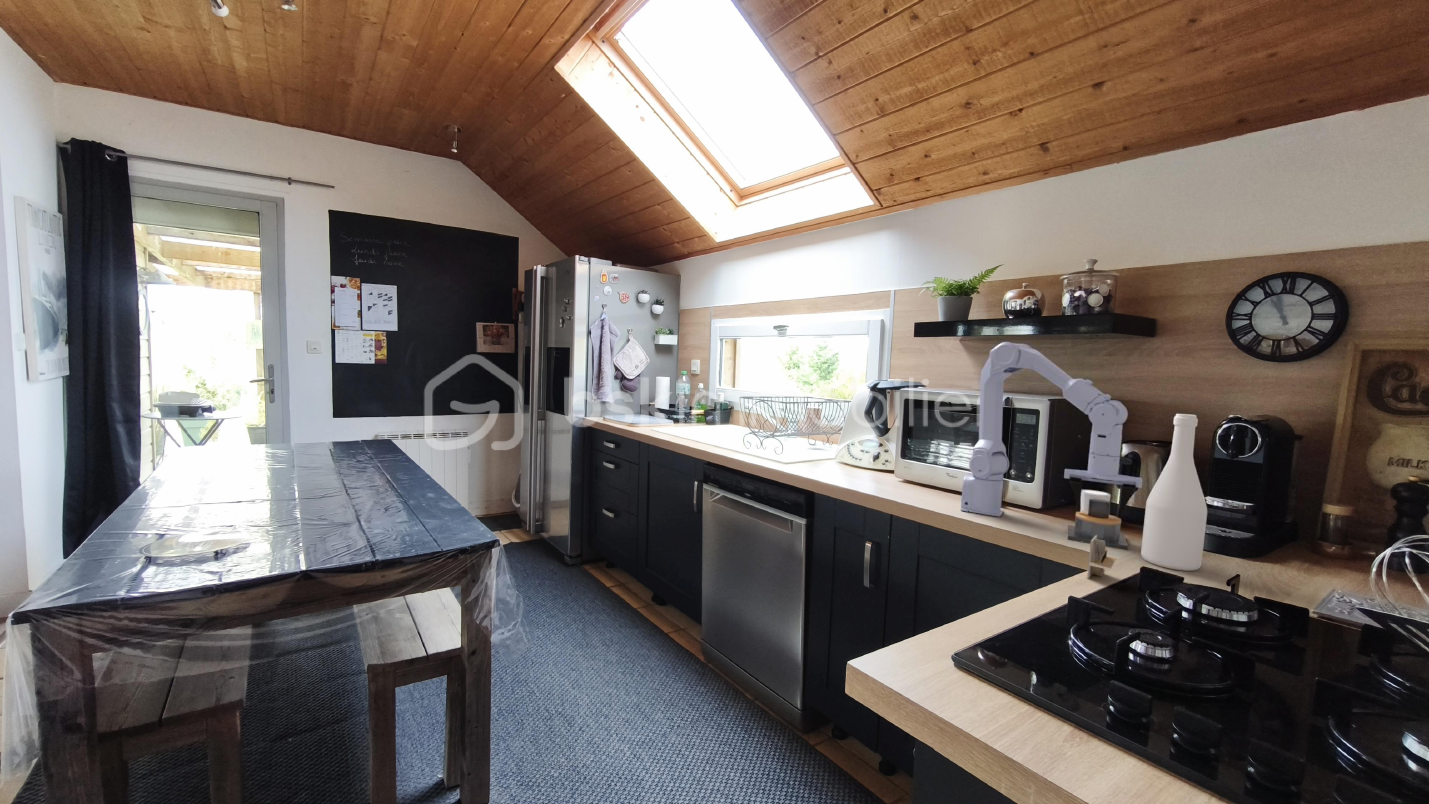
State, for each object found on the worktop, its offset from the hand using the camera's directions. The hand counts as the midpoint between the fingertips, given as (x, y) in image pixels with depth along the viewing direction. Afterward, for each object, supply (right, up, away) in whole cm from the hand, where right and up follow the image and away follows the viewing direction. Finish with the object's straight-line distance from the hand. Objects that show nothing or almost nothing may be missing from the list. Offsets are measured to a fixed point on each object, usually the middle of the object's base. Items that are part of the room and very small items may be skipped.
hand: (1098, 514), depth 132 cm
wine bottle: (+4, -7, -15) cm, 17 cm away
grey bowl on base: (0, -6, 0) cm, 6 cm away
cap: (0, -4, 0) cm, 4 cm away
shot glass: (+10, -5, +18) cm, 22 cm away
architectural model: (-17, -7, -25) cm, 31 cm away
